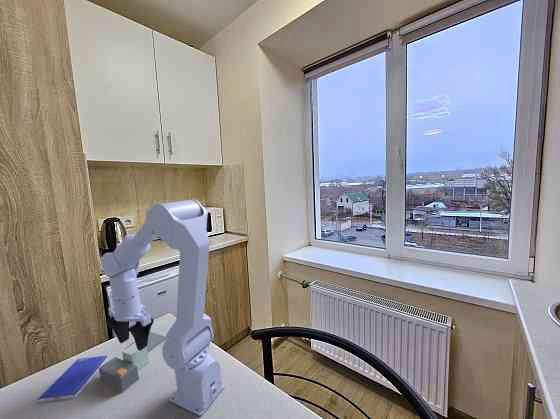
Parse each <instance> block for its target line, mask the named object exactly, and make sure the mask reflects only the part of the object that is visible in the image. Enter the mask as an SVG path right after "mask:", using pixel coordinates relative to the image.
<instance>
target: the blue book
mask: <svg viewBox="0 0 560 419" xmlns="http://www.w3.org/2000/svg"><path fill="white" fill-rule="evenodd" d="M108 359H109V356H108V355H99V356H92V357H91V356H90V357H83V358H77V360H75V361H74V362H73V363H72V364H71V365H70V366H69V367H68V368H67V369H66V370H65V371H64V372H63V373H62V374H61V375H60V376H59V377H58V378H57V379H56V380H55V381H54V382H53V383H52V384H51V385H50V386H49V387H48V388H47V389H46V390H45V391H44V392H43V393H42V394H41V395H40V396H39V397H38V398H37V403H44V402H50V401H58V400H65V399H73V398H74V399H75V398H76V397H77V396H78V395H79V394H80V392H81V391H82V390H83V389H84V388H85V387H86V385H87V384H88V383H90V381H91V379H92V378H93V377H94V376H95V375H96V374H97V373H98V372H99V367H101V366H102V365H104V364H105V363H107V361H108Z"/></svg>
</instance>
